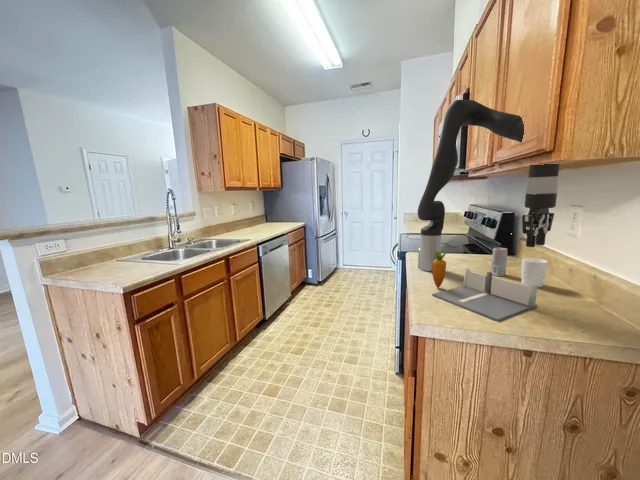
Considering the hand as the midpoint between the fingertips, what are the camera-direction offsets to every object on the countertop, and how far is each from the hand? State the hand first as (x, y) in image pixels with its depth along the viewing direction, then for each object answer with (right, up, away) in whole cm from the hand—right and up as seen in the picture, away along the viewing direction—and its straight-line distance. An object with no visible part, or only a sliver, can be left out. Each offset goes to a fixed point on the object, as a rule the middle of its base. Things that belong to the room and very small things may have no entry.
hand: (535, 245), depth 84 cm
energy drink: (+11, -14, +33) cm, 38 cm away
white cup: (+15, -16, +20) cm, 30 cm away
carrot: (-22, -17, +19) cm, 34 cm away
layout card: (-14, -19, +6) cm, 24 cm away
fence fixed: (-10, -17, +15) cm, 25 cm away
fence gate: (-5, -18, +4) cm, 19 cm away
